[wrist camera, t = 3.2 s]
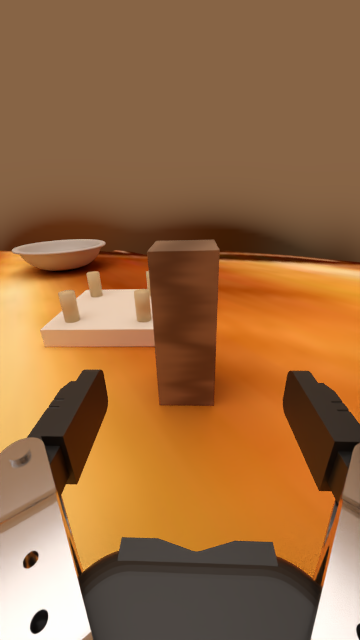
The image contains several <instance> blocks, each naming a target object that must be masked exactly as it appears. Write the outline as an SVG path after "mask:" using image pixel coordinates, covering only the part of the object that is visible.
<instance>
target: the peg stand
mask: <svg viewBox="0 0 360 640" xmlns="http://www.w3.org/2000/svg"><path fill="white" fill-rule="evenodd" d="M146 277H147V288H148V289H134V290H102V288H101V281H100V275H99V272H98V271H92V272H88V273H87V279H88V284H89V290H86V291H85V292H83V293H82V294H81V295H80V296H79V297H78V298H77V299H76V296H75V291H74V290H65V291H61V292H59V293H58V295H59V299H60V303H61V307H62V311H61V312H60V313H59V314H58V315H57V316H56V317H55V318H53V319H52V320H51V321H50V322H49V323H48V324H46V325H45V326H44V327H43V328H42V329H41V330H40V331H41V335H42V338H43V342H44V345H45V347H109V346H155V342H154V329H153V317H152V304H151V292H150V279H149V271H147V272H146Z"/></svg>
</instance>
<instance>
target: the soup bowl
mask: <svg viewBox="0 0 360 640" xmlns="http://www.w3.org/2000/svg"><path fill="white" fill-rule="evenodd" d="M104 245H105V242H104V241H100V240H91V239H90V240H89V239H75V240H59V241H49V242H40V243H34V244H28V245H23V246H19V247H16V248H14V249H12V252H13V253H14V254H19V255H20V256H21V257H22V258H23V259H24V260H25V261H26V262H27V263H29V264H30V265H32V266H34V267H36V268H39V269H43V270H51V271H59V270H70V269H75V268H79V267H82V266H85V265H87V264H89V263H91V262H92V261H93V260H94V259H95V258H96V257H97V255H98V253H99V251H100V248H101V247H102V246H104Z"/></svg>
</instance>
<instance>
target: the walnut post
mask: <svg viewBox="0 0 360 640" xmlns="http://www.w3.org/2000/svg"><path fill="white" fill-rule="evenodd" d="M147 254H148V267H149V279H150V292H151V304H152V317H153V329H154V342H155V354H156V367H157V379H158V392H159V404H160V405H202V406H214V384H215V357H216V329H217V302H218V275H219V249H218V247H217V245H216V243H215V241H214V240H181V241H156V242H155V243H154V244H153V246H152V247H151V248H150V249H149V250H148V252H147Z"/></svg>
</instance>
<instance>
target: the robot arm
mask: <svg viewBox="0 0 360 640" xmlns="http://www.w3.org/2000/svg"><path fill="white" fill-rule="evenodd" d="M107 406H108V396H107V390H106V385H105V379H104V374H103V371H102V370H83V371H82V373H81V374H80V376H79V377H78V379H77V380H76V381H71V382H69V383H68V384H67V385H65V386H64V387H63V388H62V389H60V391H59V392H58V394H57V395H56V397H55V398H54V400H53V401H52V402H51V404H50V405H49V408H47V410H46V411H45V412H44V414H43V415H42V417H41V418H40V420H39V421H38V422H37V424H36V425H35V427H34V428H33V430H32V431H31V432H30V434H29V435H28V437H27V438H24V439H21V440H18V441H16V442H14V443H12V444H11V445H9V446H8V447H7V448H5V449H4V450H3V451H2V452H1V453H0V640H360V424H359V423H358V421H357V420H356V419H355V418H354V416H353V415H352V414H351V412H349V411H348V408H347V407H346V406H345V404H344V403H342V400H341V399H340V398H339V397H338V395H337V394H336V393H335V391H333V390H332V389H330V388H329V387H328V386H326V385H325V384H324V383H318V382H317V381H316V380H315V378H314V377H313V375H312V374H311V373H310V372H309V371H289V372H288V375H287V380H286V386H285V391H284V397H283V409H284V413H285V416H286V418H287V420H288V422H289V425H290V427H291V429H292V431H293V434H294V436H295V438H296V440H297V443H298V445H299V447H300V449H301V452H302V454H303V456H304V458H305V461H306V463H307V465H308V467H309V469H310V472H311V474H312V476H313V478H314V481H315V483H316V485H317V487H318V490H319V491H332V493H333V495H334V497H335V502H334V504H333V508H332V512H331V516H330V519H329V523H328V527H327V531H326V535H325V538H324V542H323V546H322V550H321V554H320V557H319V561H318V564H317V567H316V570H315V573H314V577H313V579H312V578H311V577H310V576H309V575H308V574H306V573H305V572H304V571H303V570H301V569H300V568H298V567H297V566H295V565H294V564H292V563H290V562H288V561H286V560H284V559H282V558H280V557H277V556H276V554H275V550H274V546H273V542H254V541H233V542H230V543H226V544H223V545H219V546H216V547H213V548H209V549H206V550H203V551H199V552H195V551H191V550H189V549H186V548H183V547H180V546H178V545H175V544H172V543H169V542H167V541H164V540H161V539H158V538H126V537H122V540H121V545H120V549H119V551H117V552H114V553H111V554H109V555H107V556H105V557H103V558H101V559H100V560H98V561H96V562H95V563H94V564H92V565H91V566H90V567H88V568H87V569H86V570H85V571H84V572H83V569H82V566H81V562H80V559H79V556H78V553H77V549H76V546H75V542H74V539H73V535H72V531H71V528H70V524H69V520H68V517H67V513H66V509H65V506H64V502H63V499H62V495H61V494H62V492H63V489H64V487H65V485H66V484H77V483H78V481H79V478H80V476H81V473H82V471H83V468H84V466H85V463H86V461H87V458H88V456H89V453H90V451H91V448H92V446H93V443H94V441H95V438H96V436H97V433H98V431H99V429H100V426H101V424H102V421H103V419H104V416H105V414H106V411H107Z"/></svg>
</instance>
